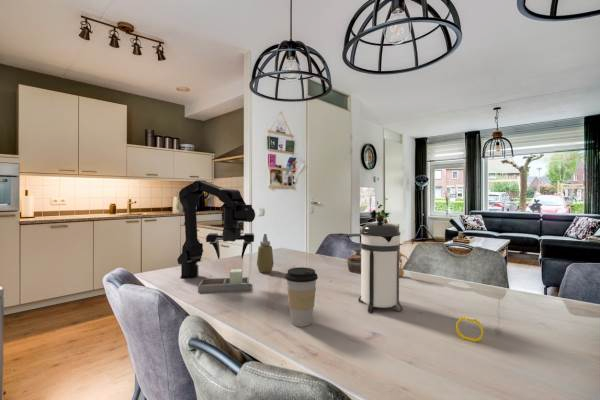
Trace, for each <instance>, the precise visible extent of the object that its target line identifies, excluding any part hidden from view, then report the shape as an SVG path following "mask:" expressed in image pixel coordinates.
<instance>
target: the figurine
mask: <svg viewBox="0 0 600 400" xmlns="http://www.w3.org/2000/svg"><path fill="white" fill-rule="evenodd" d="M402 257H404V258H405V259H406V260H407V263H410V260H409V258H408V257H407V256H406V255H405V254H402V253H401V251H400V250H399V278H400V277H403V276H404V275H405V271H404V269H403V268H402V265H403V259H402Z"/></svg>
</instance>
